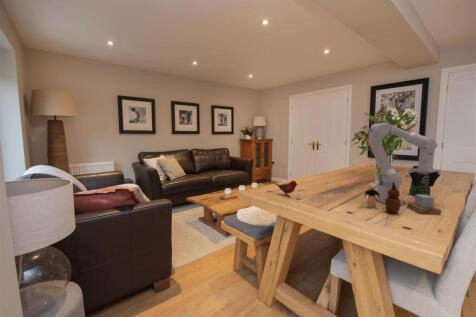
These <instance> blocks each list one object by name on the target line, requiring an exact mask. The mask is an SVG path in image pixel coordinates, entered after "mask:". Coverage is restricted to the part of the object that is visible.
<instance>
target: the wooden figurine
mask: <svg viewBox="0 0 476 317" xmlns="http://www.w3.org/2000/svg"><path fill="white" fill-rule="evenodd" d="M400 194H401V193H400V189H399V190H396V187H395V182H394V181H393V183H392V189H389V190H388V196H389V197H387V198H386V202H385V203H384V205H385V210H386V212H387V213H390V214H398V213H399V210H400V208H401V204H400V202H401V200H400V198H399V197H400Z"/></svg>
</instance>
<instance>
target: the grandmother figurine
mask: <svg viewBox="0 0 476 317" xmlns="http://www.w3.org/2000/svg"><path fill="white" fill-rule="evenodd" d="M376 188H377V185H376V183H374V182H371V183H368V189H369V190H366V191H365V192H364V194H363V198H366V197H367V205H366V208H368V209H377V199H376V198H377V196H378V198H380V195H379V193H378V192H377V189H376Z"/></svg>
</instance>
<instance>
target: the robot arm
mask: <svg viewBox="0 0 476 317" xmlns="http://www.w3.org/2000/svg"><path fill="white" fill-rule="evenodd" d="M388 134H392V135H395V136H398V137H399V138H400V137H401V138H402V139H404V140H405V141H406V143H409V144H411V145H413V146H416V147H418V149H419V155H418V163H417V166H418V168H416V169H412V168H408V174H409V175H410V177H411V182H412V181H413V185H414V186H417V185H418V179H419V176H420V174H418V173H428V175H429V186H430V188H433V187H434V185H435V182H437V179H439V177H440V176H441V174H442V169H438V168H437V169H436V168H433V164H434V163H433V161H434V153H435V150H436V149H437V148H438V145H439V144H438V143H437V141H436V139H434V138H428V136H426V135H421V134H420V133H419V132H418V131H412V132H408V131H406V130H403V129H402V128H399V127H397V126H394V125H393V124H390V123H386V122H382V123H373V124H372V125H371V126H370V128H369V129H368V142H367V143H368V145H369V148H370V149H371V151H372V153H373V157H374V158H375V159H376V162H377V164H378V166H379V169H380V172H381V179H382V181H383V185H382V186H379V185H378V186H377V187H376V188H377V189H376V191H377V192H378V193H379V195H380V198H378V196H377V195H376V201H377V200H378V201H379V202H380V203H383V204H385V202H386V198H387V197H389V196H388V190H389V189H392V183H393V181H394V182H395V187H396V190H399V191H400V186H401V185H402V183H403V177H401V175H399V174H398V172H397V171H396V170H395V169H394V167H393V166H392V164H391V162H390V159H389V157H388V155H387V153H386V151H385V149H384V147H383V145H382V141H383V139H384V138H385V137H386V136H388ZM432 168H433V169H432ZM422 171H425V172H422ZM400 205H402V202H401V201H400Z"/></svg>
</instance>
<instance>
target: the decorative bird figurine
mask: <svg viewBox="0 0 476 317" xmlns="http://www.w3.org/2000/svg"><path fill="white" fill-rule="evenodd" d="M273 184H275V186H277V187H278V188H279V189H280V191H282V192H283V193H284V194H283V195H285V196H287V197H291V195H290V194H291V193H293V192H294V191H295V190H296V187H297V186H298V184H297V181H296V180H291V181H289V182H288V183H282V184H278V183H275V182H273Z"/></svg>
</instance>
